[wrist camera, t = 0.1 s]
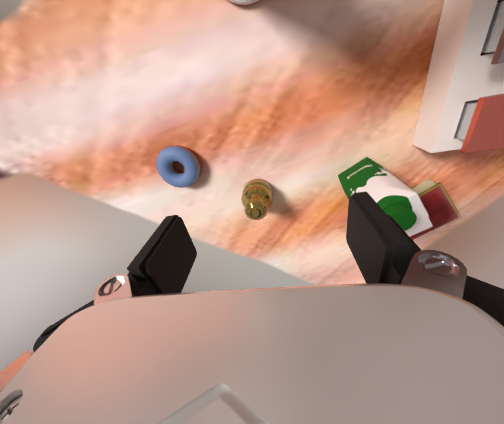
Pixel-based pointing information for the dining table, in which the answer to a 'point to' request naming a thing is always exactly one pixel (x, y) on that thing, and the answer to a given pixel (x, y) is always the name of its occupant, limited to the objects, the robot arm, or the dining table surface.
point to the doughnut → (185, 158)
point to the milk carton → (387, 194)
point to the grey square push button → (496, 35)
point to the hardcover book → (435, 205)
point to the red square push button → (482, 124)
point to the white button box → (457, 73)
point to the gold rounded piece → (257, 198)
